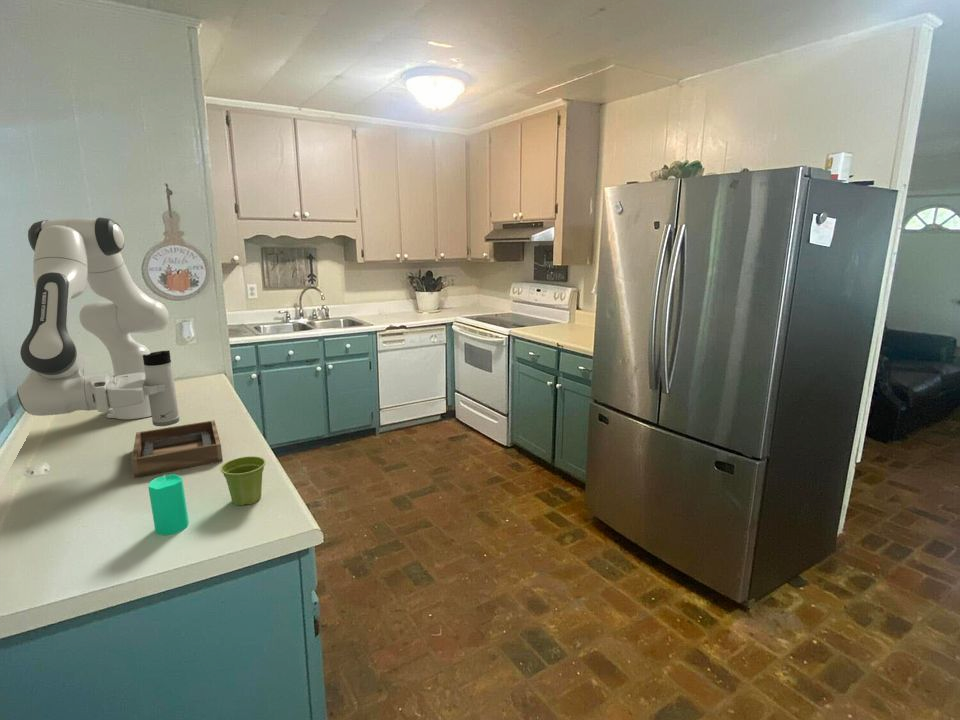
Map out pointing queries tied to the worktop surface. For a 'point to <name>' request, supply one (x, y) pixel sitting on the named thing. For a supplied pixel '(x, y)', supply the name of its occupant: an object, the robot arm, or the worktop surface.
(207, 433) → the plate
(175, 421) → the travel mug
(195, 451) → the open box
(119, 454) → the worktop surface
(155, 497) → the candle
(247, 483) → the plant pot
